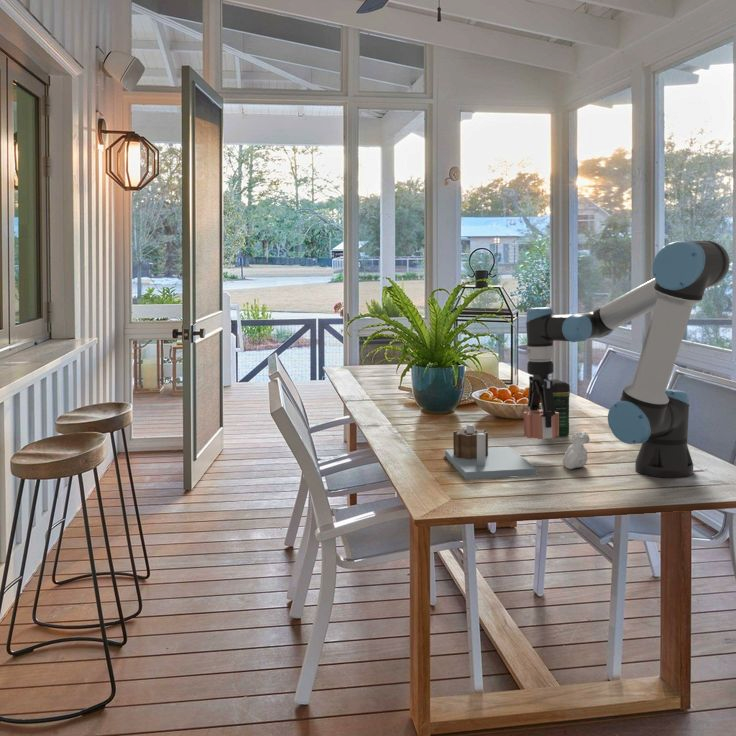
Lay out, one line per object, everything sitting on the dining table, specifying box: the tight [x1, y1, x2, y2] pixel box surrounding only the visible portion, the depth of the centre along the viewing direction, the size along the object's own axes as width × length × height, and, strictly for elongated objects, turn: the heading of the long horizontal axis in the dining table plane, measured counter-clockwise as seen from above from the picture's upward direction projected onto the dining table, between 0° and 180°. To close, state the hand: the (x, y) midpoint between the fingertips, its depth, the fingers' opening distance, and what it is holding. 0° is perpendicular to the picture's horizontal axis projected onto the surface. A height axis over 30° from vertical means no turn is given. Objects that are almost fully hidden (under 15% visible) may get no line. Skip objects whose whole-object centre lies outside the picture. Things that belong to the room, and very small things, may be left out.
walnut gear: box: [452, 428, 489, 459], centre depth 234 cm, size 10×10×7 cm
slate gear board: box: [444, 424, 537, 480], centre depth 229 cm, size 26×20×11 cm
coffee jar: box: [548, 378, 571, 437], centre depth 267 cm, size 10×8×19 cm
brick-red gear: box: [523, 409, 559, 440], centre depth 235 cm, size 10×10×7 cm
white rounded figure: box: [561, 430, 591, 470], centre depth 226 cm, size 12×8×11 cm
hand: (541, 434), depth 235 cm, fingers closed on brick-red gear, 10 cm apart
